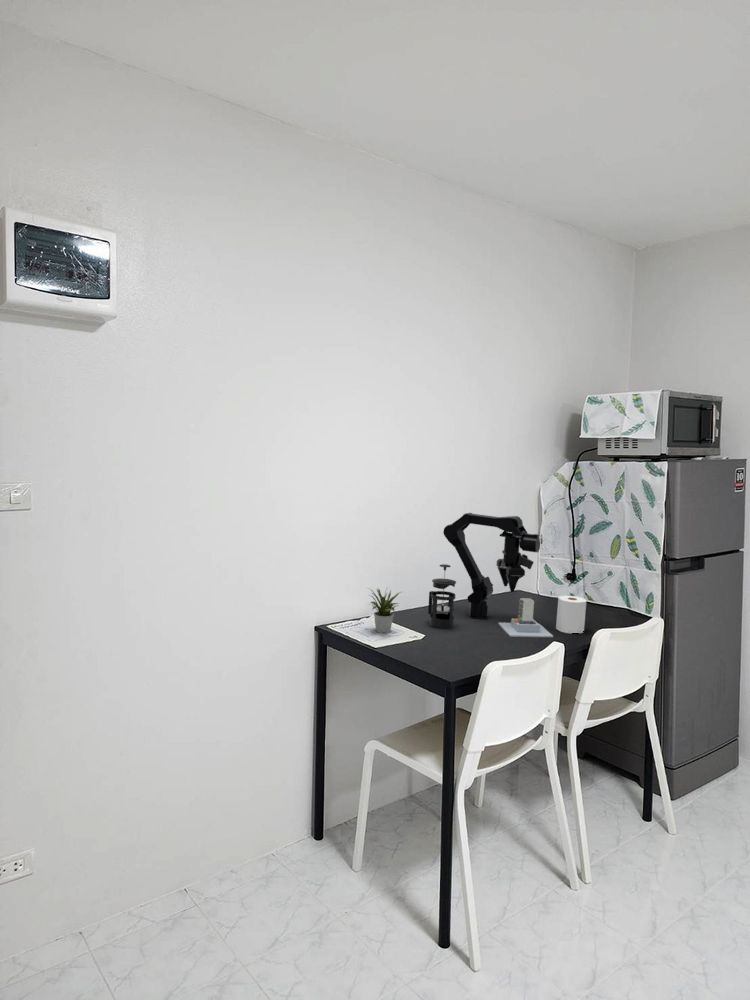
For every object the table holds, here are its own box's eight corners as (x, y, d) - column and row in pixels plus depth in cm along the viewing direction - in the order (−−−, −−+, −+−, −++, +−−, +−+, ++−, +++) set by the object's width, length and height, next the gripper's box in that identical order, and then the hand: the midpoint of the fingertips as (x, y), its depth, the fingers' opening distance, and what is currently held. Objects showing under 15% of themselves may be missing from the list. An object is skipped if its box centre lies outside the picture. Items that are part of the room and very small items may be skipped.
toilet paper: (585, 635, 261) (588, 603, 260) (556, 632, 263) (559, 600, 262) (582, 627, 271) (585, 596, 270) (554, 625, 273) (557, 594, 272)
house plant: (353, 632, 251) (355, 587, 249) (368, 622, 264) (370, 579, 262) (391, 638, 246) (393, 592, 244) (404, 628, 258) (406, 584, 257)
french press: (460, 626, 265) (464, 566, 262) (443, 630, 258) (447, 568, 256) (437, 619, 273) (440, 560, 271) (420, 623, 267) (423, 563, 264)
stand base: (509, 636, 255) (510, 625, 255) (498, 623, 271) (499, 613, 270) (553, 637, 256) (553, 626, 256) (539, 624, 272) (539, 614, 272)
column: (520, 620, 261) (521, 600, 260) (517, 617, 265) (518, 598, 264) (532, 621, 261) (534, 601, 261) (529, 618, 265) (530, 598, 265)
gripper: (539, 554, 263) (536, 595, 264) (524, 545, 281) (522, 584, 283) (510, 553, 262) (507, 594, 263) (497, 544, 280) (494, 583, 282)
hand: (508, 589), depth 273 cm, fingers open, 9 cm apart
